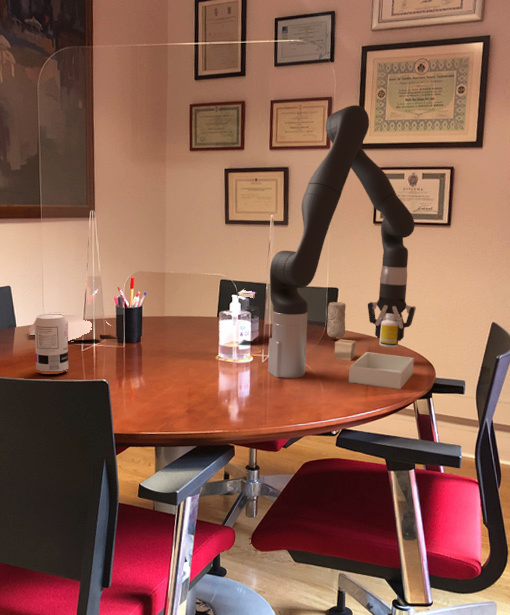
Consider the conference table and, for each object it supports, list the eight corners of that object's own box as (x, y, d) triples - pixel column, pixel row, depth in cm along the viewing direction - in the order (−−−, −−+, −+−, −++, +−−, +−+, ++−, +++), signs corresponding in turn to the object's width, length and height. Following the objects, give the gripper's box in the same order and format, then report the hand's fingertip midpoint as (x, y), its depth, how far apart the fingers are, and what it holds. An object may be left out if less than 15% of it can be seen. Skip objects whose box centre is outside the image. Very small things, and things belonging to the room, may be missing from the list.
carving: (342, 334, 219) (344, 301, 217) (346, 339, 212) (348, 305, 210) (325, 334, 219) (326, 301, 217) (328, 339, 212) (329, 304, 210)
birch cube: (350, 360, 185) (351, 344, 184) (334, 358, 187) (335, 342, 186) (355, 357, 189) (355, 341, 188) (339, 355, 191) (340, 339, 190)
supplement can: (30, 371, 165) (28, 315, 162) (58, 365, 171) (57, 312, 168) (45, 377, 159) (44, 320, 157) (74, 371, 165) (73, 316, 163)
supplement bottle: (400, 348, 180) (402, 314, 178) (381, 347, 180) (384, 314, 178) (394, 344, 185) (397, 311, 184) (377, 343, 185) (379, 311, 183)
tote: (399, 392, 155) (401, 373, 154) (348, 384, 160) (349, 366, 159) (412, 375, 170) (414, 357, 169) (365, 369, 175) (366, 351, 174)
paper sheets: (8, 332, 212) (7, 317, 211) (49, 323, 229) (49, 308, 228) (91, 345, 198) (90, 328, 197) (127, 333, 215) (127, 318, 215)
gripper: (420, 283, 180) (416, 340, 182) (372, 278, 186) (368, 334, 188) (416, 285, 173) (411, 344, 176) (365, 281, 179) (361, 338, 182)
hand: (388, 338), depth 182 cm, fingers closed on supplement bottle, 5 cm apart
